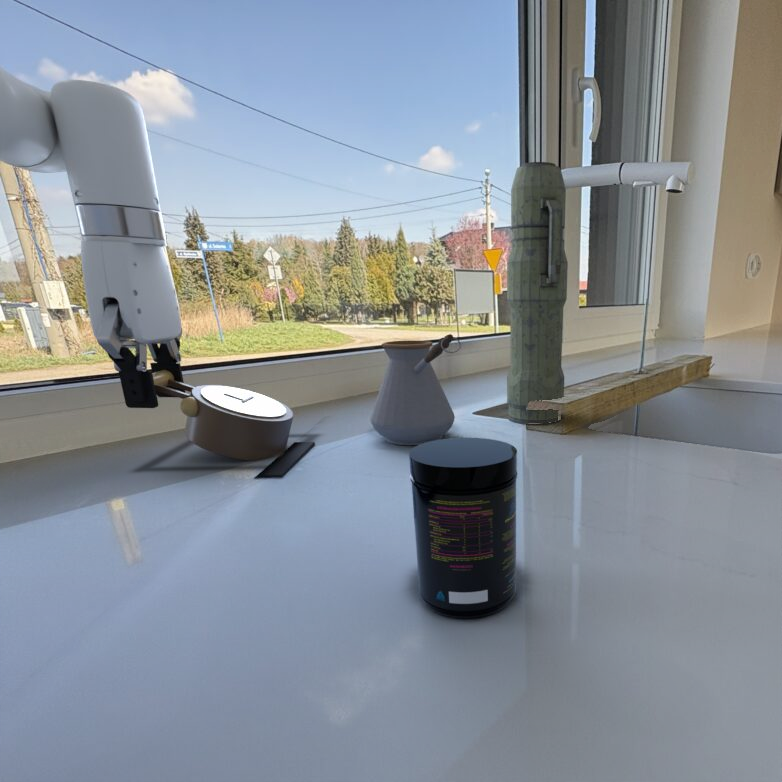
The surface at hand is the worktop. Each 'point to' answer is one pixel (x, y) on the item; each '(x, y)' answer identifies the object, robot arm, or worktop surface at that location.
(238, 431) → the clock
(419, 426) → the coffee pot
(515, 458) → the supplement container
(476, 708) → the worktop surface
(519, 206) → the thermos
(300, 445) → the mat
